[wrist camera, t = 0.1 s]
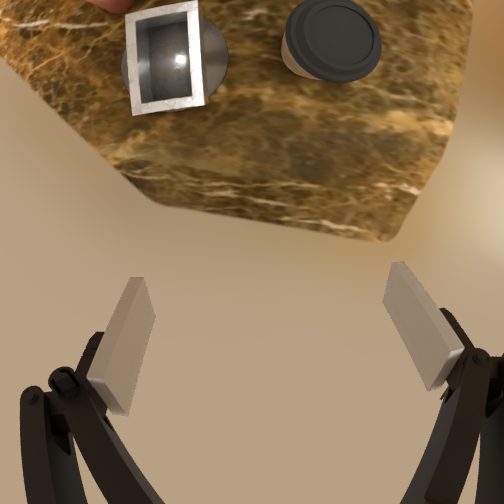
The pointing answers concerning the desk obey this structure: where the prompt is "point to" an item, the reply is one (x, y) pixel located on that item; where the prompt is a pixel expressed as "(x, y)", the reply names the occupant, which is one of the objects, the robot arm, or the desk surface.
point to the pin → (114, 5)
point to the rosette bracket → (172, 58)
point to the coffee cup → (331, 41)
